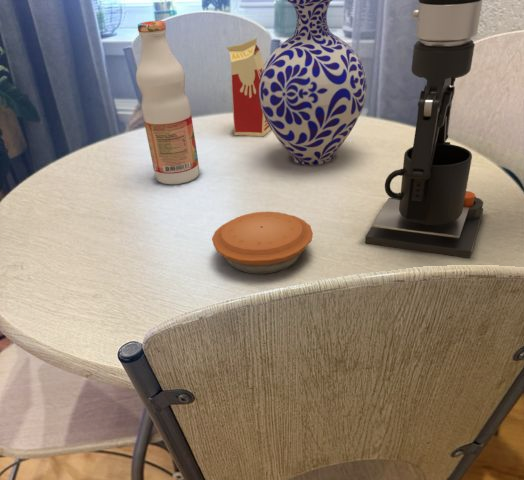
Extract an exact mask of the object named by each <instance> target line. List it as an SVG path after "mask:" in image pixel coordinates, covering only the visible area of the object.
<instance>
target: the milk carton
mask: <svg viewBox="0 0 524 480" xmlns="http://www.w3.org/2000/svg"><path fill="white" fill-rule="evenodd" d="M257 40H258V38H257V37H256V38H253V39H251V40H248V41H246V42H244V43H242V44H236V45H231V46H227V47H225V49H227V50H228V51H229V58H230V73H231V78H230V79H231V96H232V97H231V100H232V117H233V131H234V136H250V137H253V136H254V137H265V135H267V134H268V133H269V132H270V131H271V128H270V126H269V125H268V123H267V121H266V119H265V117H264V114H263V111H262V108H261V105H260V99H259V84H260V77H261V73H262V70H263V67H264V65H265V63H264V60H263V57H262V53H261V50H260V48H259V46H258V44H257Z"/></svg>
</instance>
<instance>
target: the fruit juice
mask: <svg viewBox="0 0 524 480" xmlns="http://www.w3.org/2000/svg"><path fill="white" fill-rule="evenodd" d="M166 29H167V27H166V22H165V21H163V20H150V21H143V22H140V23H138V24H137V31H138V35H139V36H140V38H141V53H140V60H139V63H138V65H137V68H136V72H135V80H136V84H137V87H138V90H139V92H140V93H141V94H140V95H141V98H142V99H141V114H142V120H143V124H144V128H145V133H146V138H147V139H146V140H147V143H148V147H149V153H150V158H151V162H152V167H153V172H154V176H155V179H156V180H157V181H158V182H159V183H161V184H165V185H180V184H181V185H182V184H185V183H188V182H191V181H194V180H195V179H197V178H198V177H199V175H200V163H199V156H198V150H197V145H196V143H197V142H196V137H195V130H194V124H193V117H192V116H193V115H192V110H191V109H192V108H191V105H190V101H189V98H188V96H187V94H186V91H185V85H186V75H185V71H184V68H183V67H182V65H181V63H180V61H178V59H176V57H175V56H174V54H173V52H172V50H171V48H170V45H169V42H168V40H167V38H166V32H167V30H166Z"/></svg>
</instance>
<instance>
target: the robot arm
mask: <svg viewBox="0 0 524 480" xmlns="http://www.w3.org/2000/svg"><path fill="white" fill-rule="evenodd" d="M482 5H483V0H418V5H417V9H414V10H413V12H412V18H413V19H417V21H416V25H415V34H414V37H416V39H417V41H416V42H415V43H414V45H413V51H412V60H411V69H410V70H411V73H412V75H414V76H415V77H417V78H423V79H425V80H426V84H425V85H424V88H423V90H421V91H420V94H419V101H417V118H416V125H415V131H414V138H413V144H412V147H413V150H412V157H411V163H410V170H409V172H406V175H405V176H406V177H409V178H411V182H410V191H409V199H408V208H407V217H406V219H413V220H421V221H425V219H426V213H427V206H428V199H429V191H430V184H431V177H432V176H431V167H432V162H433V157H434V152H435V147H436V143H443V144H451V142H450V141H447V140H448V139H449V127H450V118H451V110H452V105H453V104H452V103H453V99H454V96H455V89H456V86H455V82H456V79H458V78H462V77H465V76H466V75H468V74H469V73H470V71H471V69H472V63H473V57H474V52H475V46H476V45H475V43H474V40H473V38H474V37H476V36H477V34H478V30H479V24H480V18H481V11H482Z"/></svg>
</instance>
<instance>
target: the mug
mask: <svg viewBox="0 0 524 480" xmlns="http://www.w3.org/2000/svg"><path fill="white" fill-rule="evenodd" d="M412 150H413V146H412V147H409V148H408V149H406V150H405V152H404V154H403V165H402V168H400V169H396V170H393V171H392V172H391V173H389V174H388V175H387V177H386V179H385V181H384V182H385V183H384V191H385V193H386V195H387V196H388V198H392V199H397V200H400V204H399V211H400V214H401V215H402V216H403V217H404V218H405V219H406V217H407V208H408V199H409V191H410V182H411V178H409V177H406V176H405V175H406V172H409V170H410V163H411V157H412ZM472 161H473V154H472V152H471V151H470V150H469V149H467V148H466V147H462V146H461V145H456V144H451V143H450V144H443V143H436V147H435V152H434V157H433V162H432V167H431V176H432V177H431V184H430V191H429V199H428V206H427V213H426V219H425V221H421V220H413V219H407V220H409V221H412V222H415V223H419V224H425V225H440V224H446V223H450V222H453V221H455V220H457V219H458V218H459V217H460V216H461V214H462V211H463V205H464V199H465V194H466V191H467V188H468V183H469V177H470V173H471V172H470V171H471V166H472ZM399 176H400V177H401V184H400V192H398V193H397V192H394V191H393V190H392V188H391V183H392V181H393V180H394V179H395V178H396V177H399Z"/></svg>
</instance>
